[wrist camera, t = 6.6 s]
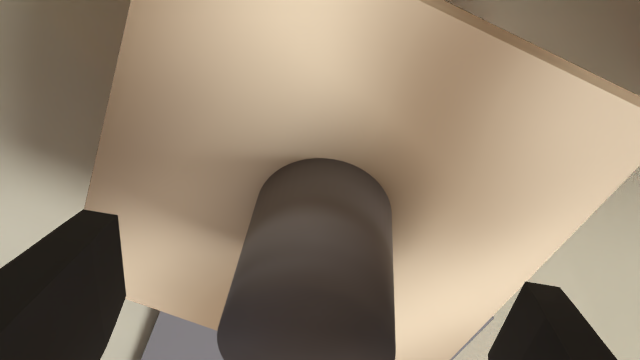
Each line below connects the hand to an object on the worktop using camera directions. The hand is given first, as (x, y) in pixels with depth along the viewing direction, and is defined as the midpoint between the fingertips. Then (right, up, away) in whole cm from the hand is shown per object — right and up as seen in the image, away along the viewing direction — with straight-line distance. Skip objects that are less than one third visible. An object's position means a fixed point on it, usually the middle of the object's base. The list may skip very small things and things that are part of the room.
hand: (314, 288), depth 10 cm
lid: (0, +2, +3) cm, 3 cm away
